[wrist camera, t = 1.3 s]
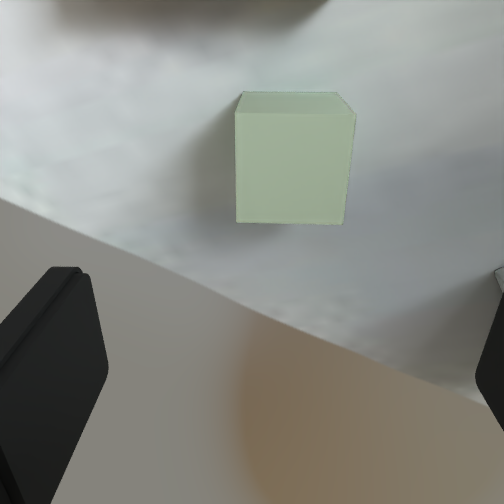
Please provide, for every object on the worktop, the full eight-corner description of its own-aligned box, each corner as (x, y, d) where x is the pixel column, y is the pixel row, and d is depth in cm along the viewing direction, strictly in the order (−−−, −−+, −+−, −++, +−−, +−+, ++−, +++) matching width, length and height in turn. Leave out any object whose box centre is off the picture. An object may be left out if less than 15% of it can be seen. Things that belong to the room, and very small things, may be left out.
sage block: (336, 92, 22) (356, 114, 17) (328, 181, 25) (342, 225, 20) (243, 91, 23) (234, 112, 17) (243, 180, 25) (236, 222, 20)
